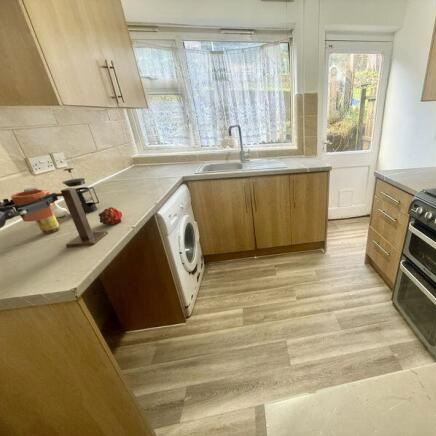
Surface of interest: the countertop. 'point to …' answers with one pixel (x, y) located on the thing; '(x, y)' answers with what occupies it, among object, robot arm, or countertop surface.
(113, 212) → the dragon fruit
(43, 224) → the sauce bottle
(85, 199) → the french press
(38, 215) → the mug
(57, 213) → the garlic bulb
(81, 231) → the mug stand
